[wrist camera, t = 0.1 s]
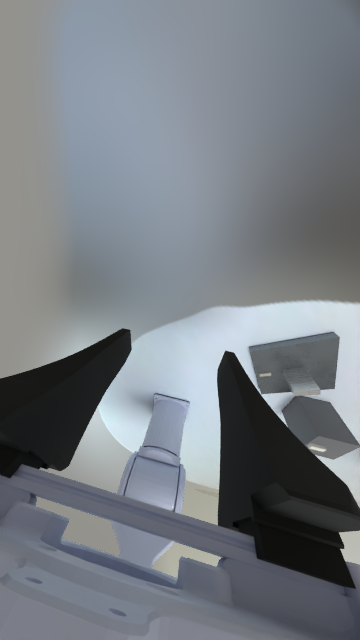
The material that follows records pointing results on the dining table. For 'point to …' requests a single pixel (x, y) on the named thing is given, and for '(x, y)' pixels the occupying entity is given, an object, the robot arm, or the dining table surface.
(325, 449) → the grey cube with tab
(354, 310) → the dining table surface
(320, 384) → the plate
